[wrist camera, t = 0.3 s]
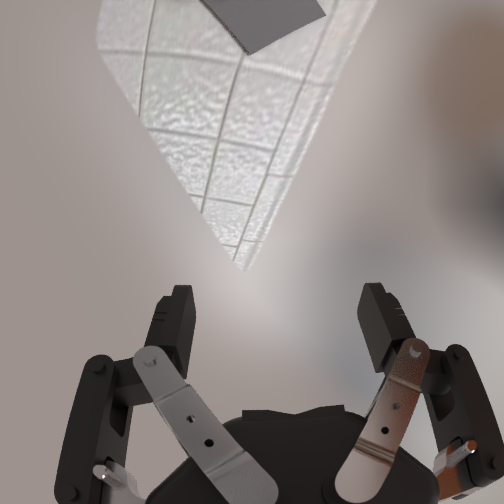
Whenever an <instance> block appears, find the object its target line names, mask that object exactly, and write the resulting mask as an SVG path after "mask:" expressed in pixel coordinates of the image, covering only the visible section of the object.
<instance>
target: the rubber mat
mask: <svg viewBox="0 0 504 504" xmlns="http://www.w3.org/2000/svg"><path fill="white" fill-rule="evenodd" d="M204 1H205V2H206V3H207V5H208V6H209V7H210V8H211V9H212V10H213V11H214V12H215V13H216V14H217V16H218V17H219V18H220V19H221V20H222V21H223V22H224V23H225V25H226V26H227V27H228V28H229V29H230V30H231V32H232V33H233V34H234V35H235V36H236V37H237V39H238V40H239V41H240V42H241V43H242V45H243V46H244V47H245V48H246V50H247V51H248V52H249V53H250V55H252V54H253V53H255V52H257V51H258V50H260V49H262V48H264V47H265V46H267V45H269V44H271V43H272V42H274V41H276V40H278V39H280V38H282V37H283V36H285V35H287V34H289V33H291V32H293V31H295V30H297V29H299V28H301V27H303V26H305V25H307V24H309V23H311V22H313V21H315V20H317V19H319V18H321V17H324V16H326V14H325V13H324V11H323V10H322V8H321V7H320V5H319V4H318V2H317V1H316V0H204Z"/></svg>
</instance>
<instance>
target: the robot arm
mask: <svg viewBox="0 0 504 504" xmlns="http://www.w3.org/2000/svg"><path fill="white" fill-rule="evenodd" d="M357 314H358V320H359V323H360V326H361V329H362V332H363V334H364V338H365V341H366V344H367V347H368V350H369V353H370V356H371V359H372V362H373V366H374V369H375V372H376V373H379V372H384V374H385V378H384V379H383V382H382V384H381V386H380V388H379V390H378V392H377V394H376V396H375V398H374V400H373V402H372V404H371V406H370V407H369V409H368V411H367V413H366V414H365V416H364V417H362V416H360V415H358V414H355V413H352V412H348V411H345V409H344V405H336V406H325V407H318V408H315V409H312V410H309V411H306V412H303V413H299V414H287V413H282V412H276V411H270V410H242V417H238V418H235V419H232V420H230V421H228V422H225V423H224V424H221V423H220V422H219V421H218V419H217V418H216V417H215V416H214V414H213V413H212V412H211V410H210V409H209V408H208V407H207V405H206V404H205V403H204V402H203V400H202V399H201V398H200V396H199V395H198V394H197V393H196V391H195V390H194V388H193V387H192V386H191V385H190V384H189V385H188V384H187V383H186V382H185V381H184V379H186V378H187V371H188V365H189V358H190V352H191V346H192V340H193V334H194V329H195V323H196V310H195V303H194V297H193V292H192V286H191V285H175V286H174V289H173V292H172V295H171V296H163V298H162V299H161V300H160V301H159V302H158V303H157V306H156V309H155V313H154V315H153V318H152V322H151V325H150V328H149V331H148V335H147V338H146V341H145V345H144V347H143V348H141V349H139V351H137V352H136V353H135V355H134V357H132V358H129V359H125V360H119V361H114V362H113V360H112V359H111V358H110V357H109V356H107V355H96V356H94V357H92V358H90V359H89V360H88V361H87V362H86V364H85V366H84V369H83V372H82V375H81V379H80V382H79V385H78V389H77V392H76V395H75V399H74V403H73V406H72V410H71V413H70V417H69V421H68V425H67V429H66V433H65V438H64V441H63V446H62V450H61V455H60V460H59V465H58V470H57V475H56V481H55V486H54V495H55V498H56V500H57V502H58V503H59V504H438V502H441V501H444V500H447V499H450V498H452V499H454V500H458V499H462V498H464V497H466V496H468V495H470V494H472V493H474V492H476V491H478V490H480V489H482V488H483V487H486V486H487V485H489V484H491V483H493V482H494V481H496V480H498V479H500V478H501V477H503V476H504V443H503V440H502V437H501V433H500V430H499V427H498V424H497V421H496V418H495V415H494V413H493V410H492V407H491V404H490V401H489V399H488V396H487V394H486V391H485V389H484V386H483V383H482V381H481V379H480V376H479V374H478V372H477V369H476V367H475V365H474V362H473V360H472V358H471V356H470V353H469V352H468V351H467V349H466V348H464V347H463V346H461V345H458V344H453V345H450V346H448V348H447V349H446V351H439V350H432V349H429V347H428V345H427V344H426V343H425V342H424V341H422V340H421V339H418V338H416V336H415V334H414V333H413V330H412V328H411V326H410V324H409V322H408V320H407V317H406V316H405V313H404V311H403V309H402V308H401V305H400V303H399V301H398V300H397V298H395V297H394V296H393V295H392V294H391V293H386V292H385V289H384V287H383V285H382V284H381V283H365V285H364V287H363V291H362V294H361V298H360V301H359V305H358V310H357ZM420 393H423V395H424V398H425V401H426V405H427V409H428V412H429V416H430V419H431V423H432V427H433V431H434V435H435V439H436V443H437V448H438V452H439V453H438V454H437V456H436V457H435V460H434V467H433V472H432V471H431V470H429V469H428V468H427V467H426V466H424V465H423V464H422V463H420V462H419V461H418V460H417V459H415V458H414V457H413V456H412V455H410V454H409V453H408V452H407V451H405V450H404V449H403V448H402V447H400V446H399V445H400V443H401V441H402V439H403V436H404V434H405V432H406V430H407V427H408V425H409V422H410V420H411V417H412V415H413V412H414V410H415V407H416V404H417V402H418V399H419V396H420ZM151 402H153V403H154V405H155V407H156V408H157V410H158V411H159V413H160V415H161V416H162V418H163V419H164V421H165V423H166V424H167V426H168V427H169V429H170V430H171V432H172V433H173V435H174V437H175V438H176V440H177V441H178V443H179V444H180V446H181V447H182V448H183V450H184V451H185V453H186V454H187V456H188V458H187V459H186V460H185V461H184V462H183V463H182V464H181V465H180V466H179V467H178V468H177V469H176V470H175V471H174V472H173V473H171V474H170V475H169V476H168V477H167V478H166V479H165V480H164V481H163V482H162V483H161V484H160V485H159V486H158V487H156V488H155V489H154V490H153V491H152V492H151V493H150V495H149V496H148V498H147V499H146V500H144V499H142V498H141V496H140V495H139V493H138V490H137V483H136V480H135V478H134V476H133V475H132V474H131V473H129V472H128V471H126V470H125V460H126V453H127V452H126V451H127V445H128V438H129V431H130V424H131V418H132V412H133V406H135V405H140V404H145V403H151Z"/></svg>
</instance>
